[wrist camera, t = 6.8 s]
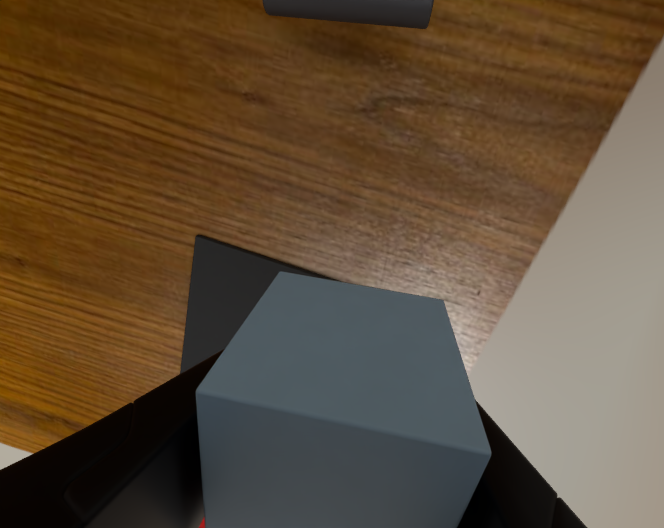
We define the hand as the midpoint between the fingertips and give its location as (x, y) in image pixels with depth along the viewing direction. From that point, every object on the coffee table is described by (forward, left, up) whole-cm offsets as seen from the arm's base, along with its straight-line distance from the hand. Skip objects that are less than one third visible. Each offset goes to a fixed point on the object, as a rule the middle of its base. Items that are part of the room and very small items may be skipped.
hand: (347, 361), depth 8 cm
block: (0, 0, 0) cm, 0 cm away
